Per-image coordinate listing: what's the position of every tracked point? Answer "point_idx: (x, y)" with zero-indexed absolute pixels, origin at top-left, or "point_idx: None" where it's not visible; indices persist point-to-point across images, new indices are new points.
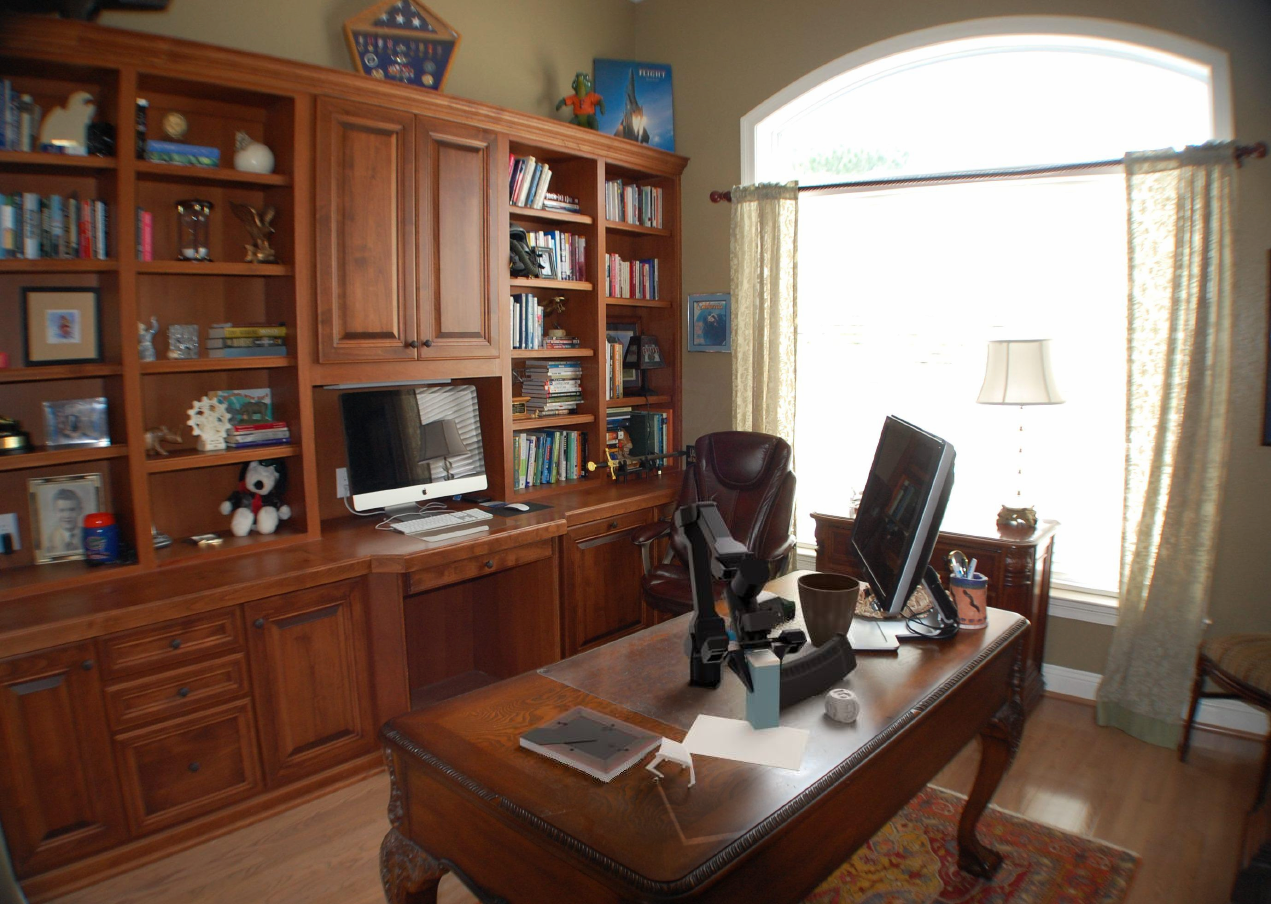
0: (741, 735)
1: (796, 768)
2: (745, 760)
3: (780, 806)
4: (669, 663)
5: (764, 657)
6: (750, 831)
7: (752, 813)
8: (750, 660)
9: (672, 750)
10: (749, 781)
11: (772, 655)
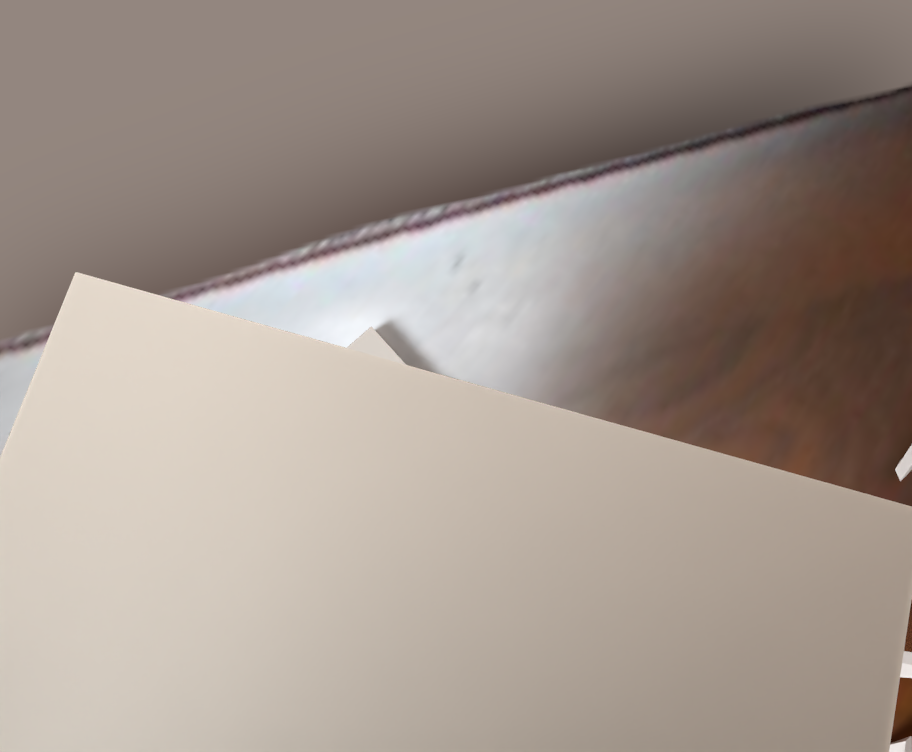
0: None
1: (370, 345)
2: None
3: (601, 178)
4: None
5: (381, 726)
6: (798, 110)
7: (729, 195)
8: None
9: None
10: (608, 390)
11: (9, 726)
